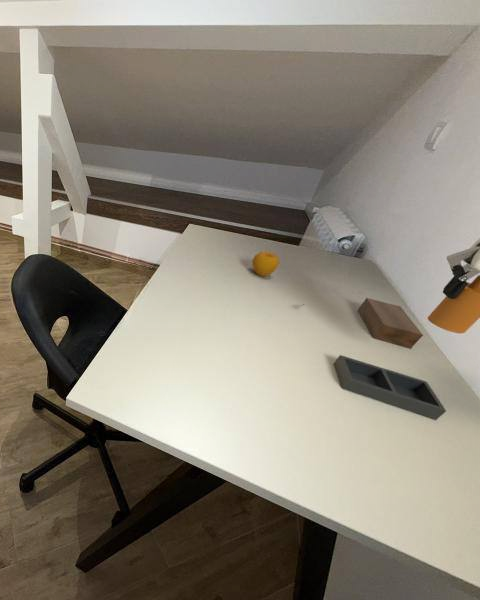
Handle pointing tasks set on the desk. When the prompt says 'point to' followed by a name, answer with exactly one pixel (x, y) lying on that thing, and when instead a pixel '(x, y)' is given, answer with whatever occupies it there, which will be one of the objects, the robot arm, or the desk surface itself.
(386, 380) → the grey divided tray
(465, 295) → the bottle
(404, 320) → the wooden block
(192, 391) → the desk surface
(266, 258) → the apple
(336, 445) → the desk surface
